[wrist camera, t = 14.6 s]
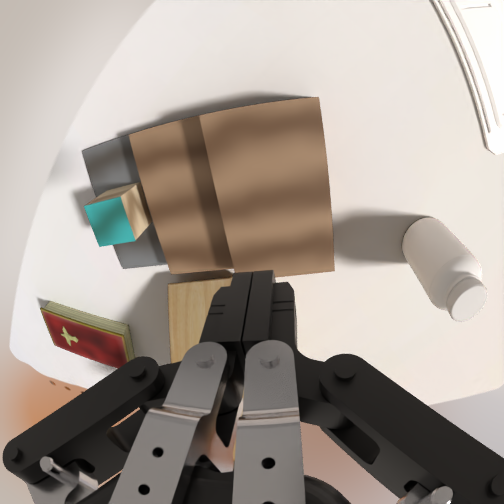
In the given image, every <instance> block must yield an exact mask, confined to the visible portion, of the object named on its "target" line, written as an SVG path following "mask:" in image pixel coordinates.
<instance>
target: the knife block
mask: <svg viewBox="0 0 504 504" xmlns="http://www.w3.org/2000/svg"><path fill="white" fill-rule="evenodd" d="M231 281H232V277H228V278H219V279H210V280H201V281H190V282H181V283H170V284H168V315H169V338H170V356H171V363H175V362H179V361H182V359H183V357H184V355H185V353H186V352H187V351H188V350H189V349H190V348H191V347H193V346H195V345H197V344H199V340H200V337H201V334H202V330H203V327H204V324H205V321H206V317H207V315H208V311H209V308H210V305H211V301H212V298H213V295H214V294H215V293H216V292H217V291H218V290H219V289H220V288H221V287H225V286H230V284H231ZM242 398H244V391H243V397H242ZM242 414H243V410H242ZM242 414H241V417H242ZM235 448H236V440H235V444H234V448H233V461H234V465H235ZM234 465H233V471H234Z"/></svg>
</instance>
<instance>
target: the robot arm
mask: <svg viewBox="0 0 504 504" xmlns="http://www.w3.org/2000/svg"><path fill="white" fill-rule="evenodd" d="M243 391H244V398H242V397H243ZM138 407H139V408H140V410H138V411H137V412H136V413H134V414H133V415H131V416H130V417H129V418H127V419H126V420H124V421H123V422H121V423H120V424H119V425H117V426H115V427H111V426H113V425H114V424H116V423H117V422H118V421H120V420H121V419H123V418H124V417H126V416H127V415H128V414H130V413H131V412H133V411H134V410H135V409H137V408H138ZM242 410H243V414H242ZM241 414H242V417H241ZM300 421H301V422H305V423H309V424H313V425H317V426H320V428H321V429H322V431H323V432H324V433H326V434H327V435H328V436H329V437H330V438H331V439H332V440H333V441H334V442H335V443H336V444H337V445H338V446H340V448H342V449H343V450H344V451H345V452H346V453H347V454H348V455H349V456H351V457H352V458H353V459H354V460H355V461H356V462H357V463H358V464H360V466H362V467H363V468H364V469H365V470H366V471H367V472H368V473H370V474H371V475H372V476H373V477H374V478H375V479H377V480H378V481H379V482H380V483H381V484H383V485H384V486H385V487H386V488H388V489H389V490H390V491H391V492H392V493H394V494H395V495H396V496H397V497H398V498H400V499H399V500H398V502H397V503H396V504H504V458H502V457H501V456H500V455H498V454H496V453H495V452H494V451H492V450H491V449H489V448H488V447H486V446H485V445H483V444H482V443H480V442H479V441H477V440H476V439H474V438H473V437H471V436H470V435H469V434H467V433H466V432H464V431H463V430H461V429H460V428H458V427H457V426H456V425H454V424H453V423H451V422H450V421H448V420H447V419H446V418H444V417H443V416H441V415H440V414H438V413H437V412H436V411H434V410H433V409H431V408H430V407H429V406H427V405H426V404H424V403H423V402H421V401H420V400H419V399H417V398H416V397H414V396H413V395H412V394H410V393H409V392H407V391H406V390H405V389H403V388H402V387H400V386H399V385H398V384H396V383H395V382H394V381H392V380H391V379H389V378H388V377H387V376H385V375H384V374H382V373H381V372H380V371H378V370H377V369H376V368H374V367H373V366H371V365H370V364H369V363H367V362H366V361H365V360H363V359H362V358H360V357H358V356H356V355H352V354H339V355H335V356H333V357H331V358H329V359H328V360H326V361H325V362H322V361H317V360H313V359H309V358H307V357H305V356H304V355H302V354H301V353H300V352H299V351H298V349H297V318H296V307H295V296H294V290H293V288H292V287H291V285H290V284H289V283H288V282H281V283H276V280H275V274H274V270H263V271H254V272H253V271H251V272H238V273H234V274H233V277H232V281H231V284H230V286H225V287H221V288H220V289H219V290H218V291H217V292H216V293H215V294H214V295H213V298H212V301H211V305H210V308H209V311H208V315H207V317H206V321H205V324H204V327H203V330H202V334H201V337H200V340H199V344H197V345H195V346H193V347H191V348H190V349H189V350H188V351H187V352H186V353H185V355H184V357H183V359H182V361H179V362H175V363H171V364H167V365H162V366H158V364H157V362H156V361H155V360H154V359H152V358H150V357H137V358H134V359H132V360H130V361H129V362H127V363H126V364H124V365H123V366H121V367H120V368H118V369H117V370H115V371H114V372H113V373H111V374H110V375H108V376H107V377H105V378H104V379H102V380H101V381H99V382H98V383H96V384H95V385H94V386H92V387H91V388H89V389H88V390H86V391H85V392H83V393H82V394H80V395H79V396H77V397H76V398H74V399H73V400H71V401H70V402H69V403H67V404H65V405H64V406H62V407H61V408H59V409H58V410H56V411H55V412H54V413H52V414H50V415H49V416H47V417H46V418H44V419H43V420H41V421H40V422H38V423H37V424H35V425H34V426H32V427H31V428H29V429H28V430H26V431H24V432H23V433H22V434H20V435H18V436H17V437H15V438H14V439H12V440H11V441H10V442H8V444H7V445H6V447H5V449H4V451H3V463H4V465H5V467H6V469H7V470H9V471H10V472H11V473H13V474H14V475H16V476H17V477H19V478H21V479H22V480H23V481H24V482H25V483H26V484H27V486H28V489H29V491H30V494H31V496H32V499H33V501H34V503H35V504H351V503H350V502H349V501H348V500H347V499H346V498H345V497H344V496H343V495H342V494H341V493H340V492H339V491H338V490H336V489H335V488H334V487H332V486H331V485H329V484H327V483H326V482H324V481H322V480H319V479H317V478H314V477H311V476H308V475H304V472H303V457H302V442H301V429H300ZM235 440H236V448H235V465H234V461H233V448H234V444H235ZM233 465H234V471H233ZM122 469H123V470H122ZM121 470H122V472H121V473H119V474H118V475H117V476H115V477H114V478H112V479H111V480H110V481H108V482H107V483H105V484H104V485H103V486H101V487H100V488H98V485H100V484H101V483H103V482H104V481H106V480H107V479H109V478H110V477H112V476H113V475H115V474H116V473H118V472H119V471H121Z"/></svg>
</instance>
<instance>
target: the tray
mask: <svg viewBox="0 0 504 504" xmlns="http://www.w3.org/2000/svg"><path fill="white" fill-rule="evenodd" d="M432 1H433V3H434V5H435V7H436V9H437V10H438V12H439V14H440V16H441V18H442V20H443V22H444V24H445V26H446V28H447V30H448V32H449V35H450V37H451V39H452V41H453V43H454V46H455V48H456V50H457V53H458V55H459V58H460V60H461V63H462V65H463V68H464V71H465V73H466V76H467V79H468V82H469V85H470V88H471V91H472V94H473V97H474V100H475V103H476V107H477V110H478V114H479V118H480V121H481V125H482V129H483V134H484V138H485V142H486V147H487V149H489V150H490V151H491V152H492V153H494V154H495V155H498V154H500V153H503V152H504V0H439V1H440V3H441V5H442V7H443V8H444V10H445V12H446V14H447V16H448V18H449V20H450V22H451V24H452V26H453V28H454V31H455V33H456V35H457V37H458V39H459V42H460V44H461V46H462V49H463V51H464V53H465V56H466V58H467V61H468V64H469V66H470V69H471V72H472V74H473V77H474V80H475V83H476V86H477V89H478V92H479V96H480V99H481V102H482V106H483V109H484V113H485V117H486V121H487V125H488V129H489V132H488V131H487V127H486V123H485V119H484V115H483V111H482V108H481V104H480V101H479V97H478V94H477V91H476V88H475V85H474V82H473V79H472V76H471V73H470V71H469V68H468V65H467V63H466V60H465V58H464V55H463V53H462V50H461V48H460V45H459V43H458V41H457V39H456V36H455V34H454V32H453V30H452V28H451V26H450V24H449V22H448V20H447V18H446V16H445V14H444V12H443V10H442V8H441V6H440V4H439V3H438V1H437V0H432Z"/></svg>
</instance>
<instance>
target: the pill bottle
mask: <svg viewBox="0 0 504 504" xmlns="http://www.w3.org/2000/svg"><path fill="white" fill-rule="evenodd" d="M402 250H403V254H404V256H405V258H406V260H407V262H408V263H409V265H410V266H411V268H412V270H413V271H414V273H415V275H416V276H417V278H418V280H419V281H420V283H421V285H422V286H423V288H424V290H425V292H426V293H427V295H428V297H429V299H430V300H431V302H432V303H433V304H434V305H435V306H436V307H437V308H439V309H441V310H445V311H448V312H449V314H450V316H451V317H452V319H453V320H455V321H459V322H462V321H467V320H469V319H471V318H473V317H474V316H475V315H477V314H478V313H479V312H480V311H481V309H482V308H483V306H484V305H485V303H486V300H487V290H486V288H485V286H484V285H483V284H482V269H481V266H480V263H479V261H478V260H477V259H476V257H475V256H474V255H473V254H472V253H471V252H470V251H469V250H468V249H467V247H466V246H465V245H464V244H463V243H462V242H461V241H460V240H459V239H458V238H457V237H456V236H455V235H454V234H453V233H452V232H451V231H450V230H449V229H448V228H447V227H446V226H445V225H444V224H443V223H442V222H441V221H439V220H438V219H435V218H430V217H428V218H422V219H420V220H418V221H416V222H415V223H413V224H412V225H411V226H410V227H409V228H408V230H407V231H406V233H405V235H404V238H403V242H402Z"/></svg>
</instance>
